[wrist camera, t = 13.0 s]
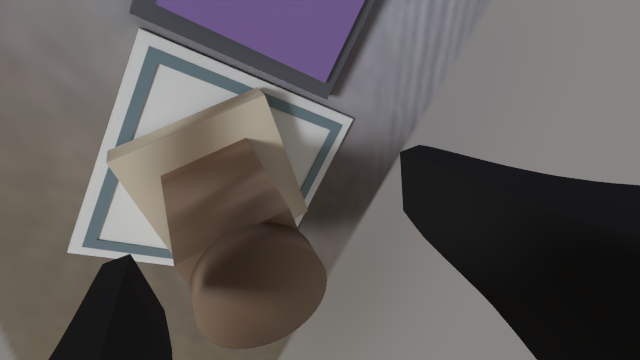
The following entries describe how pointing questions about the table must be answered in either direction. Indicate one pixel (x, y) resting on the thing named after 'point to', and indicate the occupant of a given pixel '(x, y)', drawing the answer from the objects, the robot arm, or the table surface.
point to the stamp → (228, 219)
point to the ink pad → (269, 33)
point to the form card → (173, 105)
